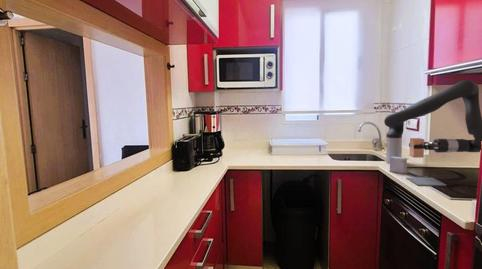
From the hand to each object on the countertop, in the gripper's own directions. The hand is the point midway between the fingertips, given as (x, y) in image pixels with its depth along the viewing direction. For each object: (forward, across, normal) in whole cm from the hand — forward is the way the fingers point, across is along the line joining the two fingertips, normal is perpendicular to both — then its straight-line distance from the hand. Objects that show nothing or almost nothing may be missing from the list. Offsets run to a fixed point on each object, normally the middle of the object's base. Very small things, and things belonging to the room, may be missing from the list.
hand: (411, 145), depth 152 cm
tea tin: (-3, 0, +6) cm, 7 cm away
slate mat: (-2, +12, +17) cm, 21 cm away
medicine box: (+3, -9, +17) cm, 20 cm away
